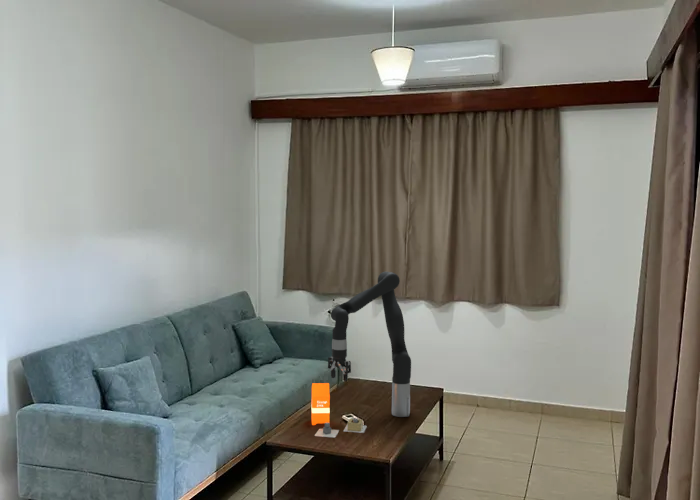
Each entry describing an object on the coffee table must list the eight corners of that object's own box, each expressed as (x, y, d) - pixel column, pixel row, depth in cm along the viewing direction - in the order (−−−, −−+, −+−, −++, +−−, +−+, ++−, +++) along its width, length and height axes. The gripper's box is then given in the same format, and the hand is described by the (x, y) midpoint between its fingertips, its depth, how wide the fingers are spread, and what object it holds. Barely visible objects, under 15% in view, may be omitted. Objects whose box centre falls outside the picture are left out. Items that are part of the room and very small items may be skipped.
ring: (362, 426, 324) (362, 419, 324) (360, 431, 318) (360, 424, 317) (349, 425, 325) (350, 418, 325) (347, 430, 319) (347, 423, 319)
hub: (339, 431, 319) (339, 420, 318) (335, 439, 309) (335, 427, 309) (319, 430, 321) (319, 419, 320) (314, 437, 311) (314, 426, 310)
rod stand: (367, 427, 326) (367, 416, 325) (363, 434, 316) (363, 423, 315) (347, 425, 327) (347, 415, 327) (343, 432, 318) (343, 422, 317)
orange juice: (311, 419, 335) (311, 381, 334) (328, 419, 336) (329, 380, 335) (311, 425, 328) (312, 385, 326) (329, 424, 328) (330, 385, 327)
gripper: (354, 348, 329) (354, 380, 331) (335, 344, 339) (334, 375, 341) (344, 351, 324) (343, 383, 325) (324, 346, 334) (324, 377, 336)
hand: (339, 379), depth 333 cm, fingers open, 8 cm apart
